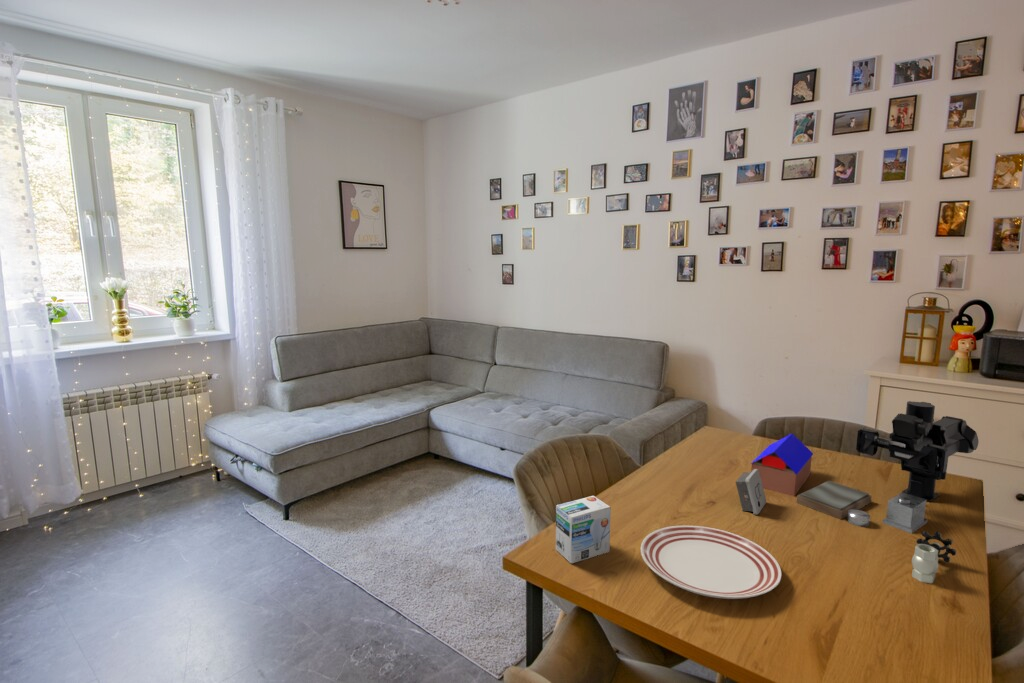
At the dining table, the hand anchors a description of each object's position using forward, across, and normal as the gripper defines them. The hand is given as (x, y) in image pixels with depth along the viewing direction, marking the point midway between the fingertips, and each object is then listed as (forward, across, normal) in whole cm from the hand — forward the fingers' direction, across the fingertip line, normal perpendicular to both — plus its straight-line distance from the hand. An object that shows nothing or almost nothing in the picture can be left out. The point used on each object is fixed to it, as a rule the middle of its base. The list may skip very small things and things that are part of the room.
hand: (884, 456), depth 126 cm
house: (-4, -27, +17) cm, 32 cm away
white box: (+69, -31, +17) cm, 77 cm away
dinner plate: (+52, -11, +17) cm, 55 cm away
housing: (-4, +4, +17) cm, 18 cm away
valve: (+15, +15, +17) cm, 27 cm away
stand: (-1, -11, +16) cm, 20 cm away
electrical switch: (+19, -22, +17) cm, 33 cm away
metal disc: (+5, -2, +17) cm, 18 cm away
